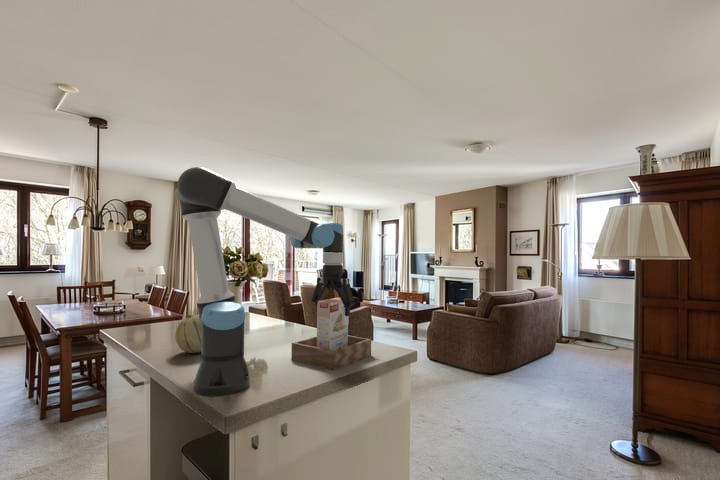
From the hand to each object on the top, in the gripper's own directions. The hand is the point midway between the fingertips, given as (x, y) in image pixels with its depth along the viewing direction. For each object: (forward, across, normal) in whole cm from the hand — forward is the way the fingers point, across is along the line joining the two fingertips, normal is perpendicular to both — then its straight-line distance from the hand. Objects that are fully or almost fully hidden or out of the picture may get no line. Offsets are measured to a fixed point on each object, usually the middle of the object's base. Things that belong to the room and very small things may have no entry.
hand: (332, 322), depth 133 cm
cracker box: (+12, 0, 0) cm, 12 cm away
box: (+13, 0, 0) cm, 13 cm away
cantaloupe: (+13, +47, +26) cm, 55 cm away
